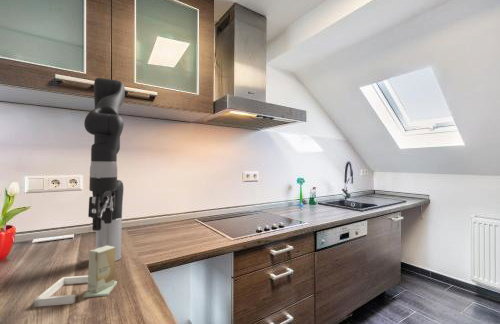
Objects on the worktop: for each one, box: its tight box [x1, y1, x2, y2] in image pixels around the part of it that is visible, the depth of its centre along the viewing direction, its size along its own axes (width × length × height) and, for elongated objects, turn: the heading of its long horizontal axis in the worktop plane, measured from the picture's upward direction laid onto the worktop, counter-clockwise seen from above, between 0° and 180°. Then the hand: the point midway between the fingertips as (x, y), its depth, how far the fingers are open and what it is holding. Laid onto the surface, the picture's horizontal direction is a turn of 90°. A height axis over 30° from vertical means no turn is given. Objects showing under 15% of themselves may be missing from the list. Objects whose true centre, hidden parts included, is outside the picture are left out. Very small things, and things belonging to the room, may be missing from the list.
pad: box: [83, 280, 118, 298], centre depth 75 cm, size 8×7×1 cm
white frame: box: [33, 275, 88, 308], centre depth 73 cm, size 14×10×2 cm
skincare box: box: [87, 245, 116, 293], centre depth 75 cm, size 6×4×12 cm
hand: (102, 226), depth 75 cm, fingers open, 8 cm apart
